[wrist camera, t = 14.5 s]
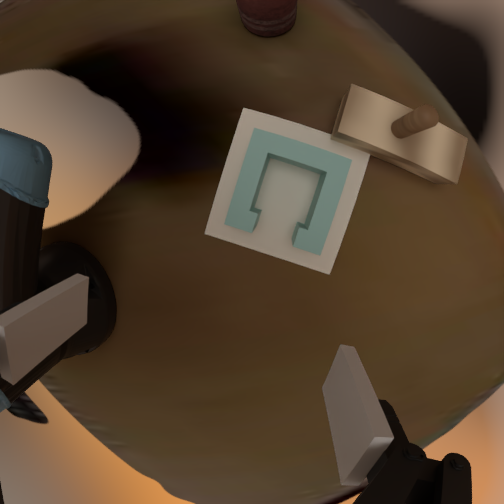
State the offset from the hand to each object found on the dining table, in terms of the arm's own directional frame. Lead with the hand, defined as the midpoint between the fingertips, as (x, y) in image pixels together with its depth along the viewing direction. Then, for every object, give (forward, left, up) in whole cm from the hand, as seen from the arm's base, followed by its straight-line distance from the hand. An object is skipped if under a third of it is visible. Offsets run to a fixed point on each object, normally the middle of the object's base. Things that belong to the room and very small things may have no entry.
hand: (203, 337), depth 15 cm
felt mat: (+2, +8, -20) cm, 21 cm away
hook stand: (+11, +17, -20) cm, 28 cm away
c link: (+2, +8, -20) cm, 21 cm away
